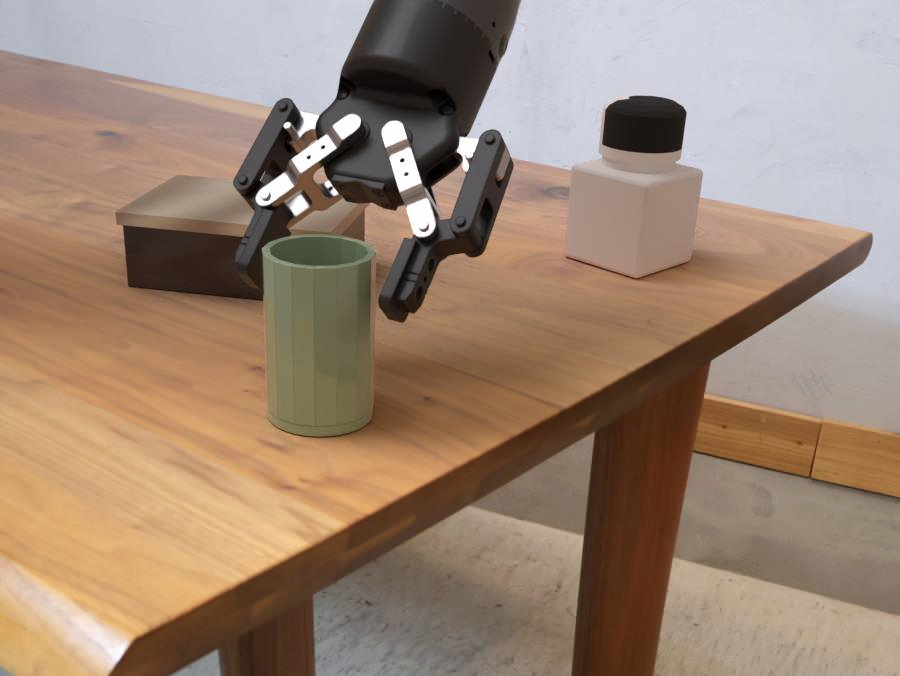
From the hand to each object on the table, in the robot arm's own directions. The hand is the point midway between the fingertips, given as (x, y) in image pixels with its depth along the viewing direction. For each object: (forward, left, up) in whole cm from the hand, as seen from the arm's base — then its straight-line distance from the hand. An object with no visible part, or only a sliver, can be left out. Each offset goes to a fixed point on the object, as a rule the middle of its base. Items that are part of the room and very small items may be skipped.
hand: (317, 297), depth 58 cm
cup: (0, 0, -7) cm, 7 cm away
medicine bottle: (+15, +33, -7) cm, 37 cm away
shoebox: (-11, +21, -7) cm, 25 cm away
